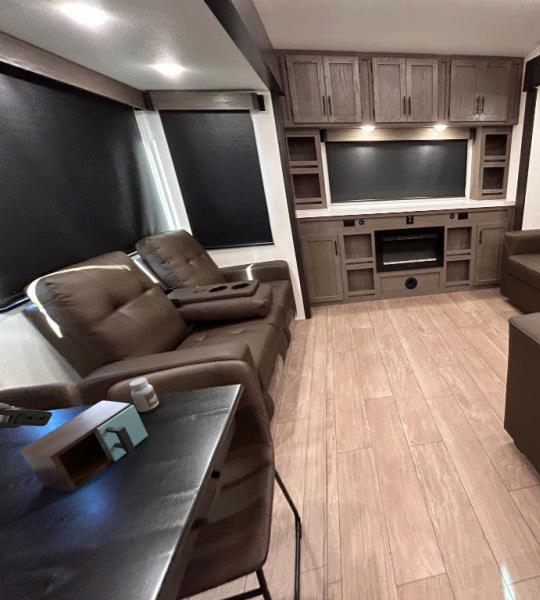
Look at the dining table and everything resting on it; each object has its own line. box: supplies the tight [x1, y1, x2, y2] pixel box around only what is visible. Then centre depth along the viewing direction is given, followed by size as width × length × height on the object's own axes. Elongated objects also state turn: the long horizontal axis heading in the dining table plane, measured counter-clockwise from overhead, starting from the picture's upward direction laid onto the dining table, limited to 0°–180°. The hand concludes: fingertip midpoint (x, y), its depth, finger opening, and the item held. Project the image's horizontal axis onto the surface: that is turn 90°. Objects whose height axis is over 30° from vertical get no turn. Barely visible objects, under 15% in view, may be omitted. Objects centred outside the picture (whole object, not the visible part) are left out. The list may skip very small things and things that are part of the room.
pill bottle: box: [128, 377, 160, 413], centre depth 80 cm, size 4×4×8 cm
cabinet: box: [19, 400, 132, 494], centre depth 64 cm, size 8×14×9 cm, turn 166°
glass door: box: [97, 404, 149, 462], centre depth 66 cm, size 5×7×8 cm
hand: (46, 418), depth 52 cm, fingers closed
